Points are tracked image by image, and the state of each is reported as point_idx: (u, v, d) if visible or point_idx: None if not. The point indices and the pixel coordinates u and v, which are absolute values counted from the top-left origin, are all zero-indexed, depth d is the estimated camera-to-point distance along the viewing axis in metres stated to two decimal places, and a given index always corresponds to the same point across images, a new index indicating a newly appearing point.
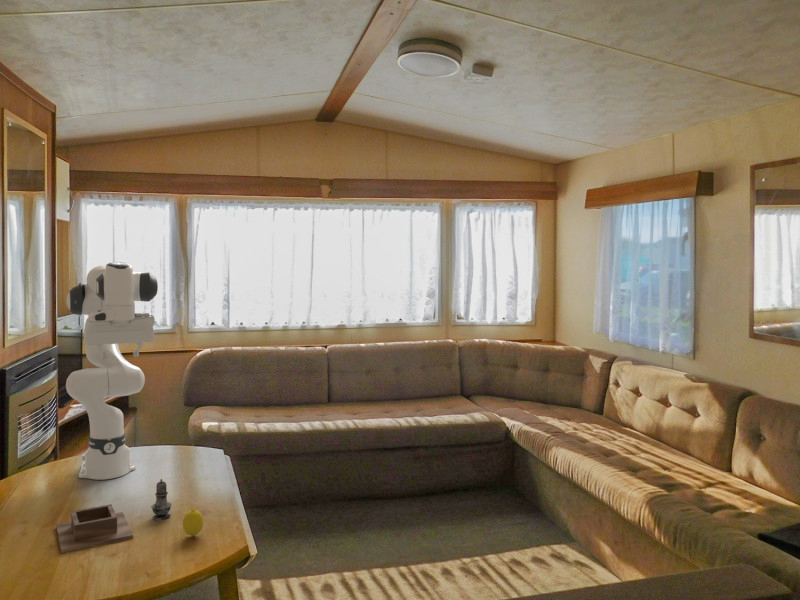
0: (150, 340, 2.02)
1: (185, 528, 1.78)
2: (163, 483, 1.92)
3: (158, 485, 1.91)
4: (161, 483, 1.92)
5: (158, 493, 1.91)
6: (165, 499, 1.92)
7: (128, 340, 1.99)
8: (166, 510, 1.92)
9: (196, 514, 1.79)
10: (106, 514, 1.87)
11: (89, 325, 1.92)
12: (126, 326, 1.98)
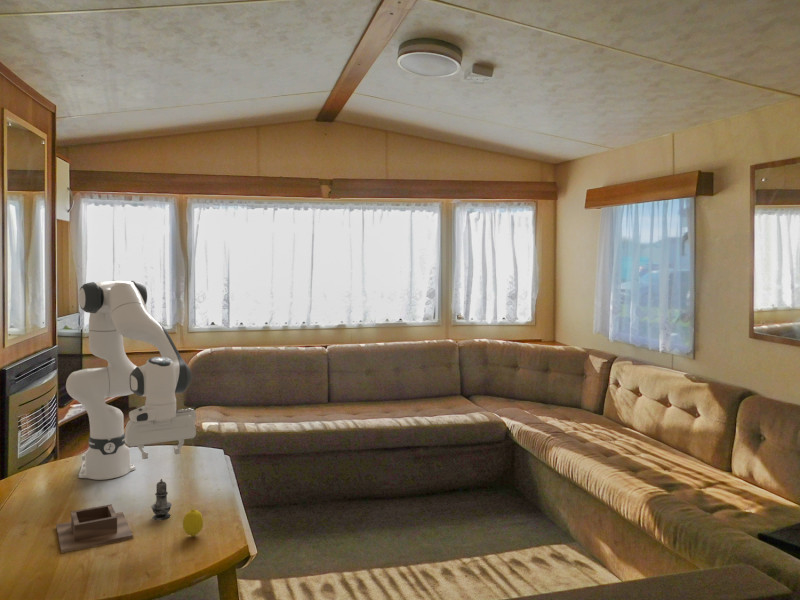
0: (192, 436, 1.95)
1: (185, 528, 1.78)
2: (163, 483, 1.92)
3: (158, 485, 1.91)
4: (161, 483, 1.92)
5: (158, 493, 1.91)
6: (165, 499, 1.92)
7: (170, 438, 1.91)
8: (166, 510, 1.92)
9: (196, 514, 1.79)
10: (106, 514, 1.87)
11: (131, 426, 1.84)
12: (168, 424, 1.91)
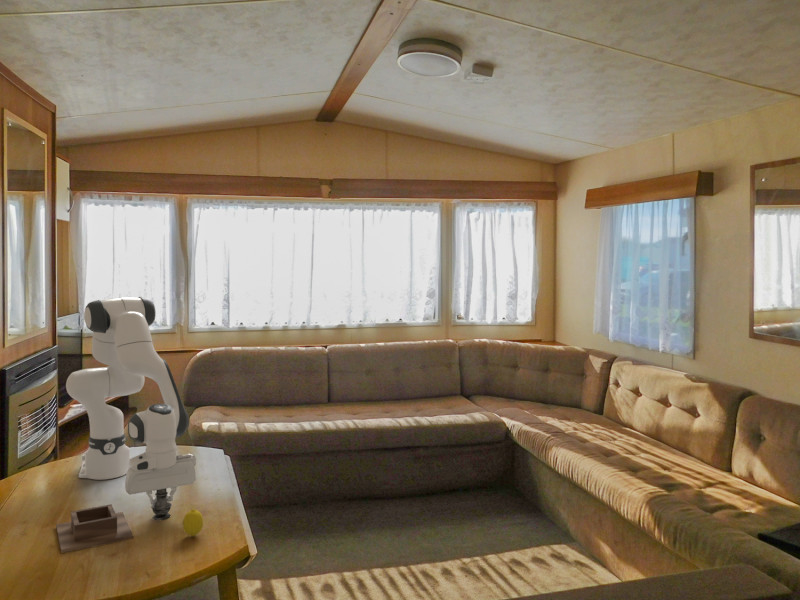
0: (192, 482, 1.96)
1: (185, 528, 1.78)
2: None
3: None
4: None
5: (158, 493, 1.91)
6: (165, 499, 1.92)
7: (170, 485, 1.92)
8: (166, 510, 1.92)
9: (196, 514, 1.79)
10: (106, 514, 1.87)
11: (131, 475, 1.85)
12: (168, 471, 1.92)
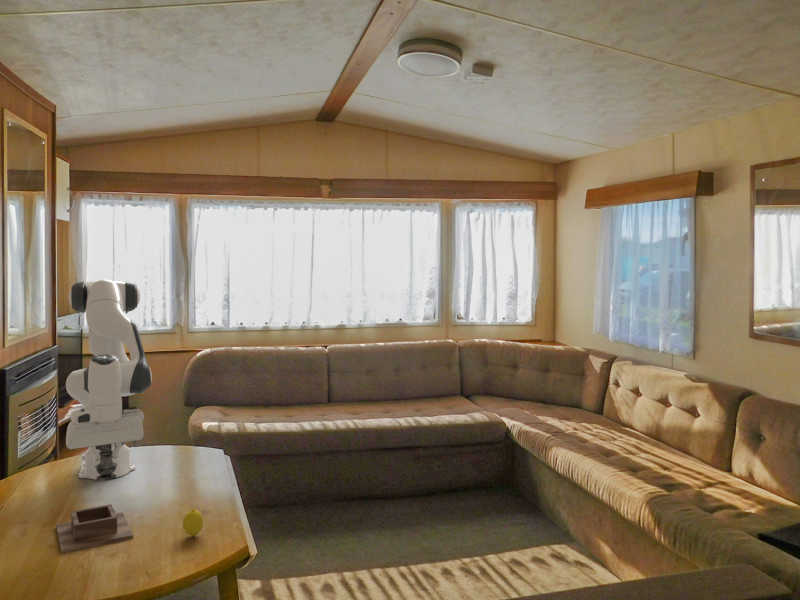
0: (139, 438, 1.85)
1: (185, 528, 1.78)
2: None
3: None
4: None
5: (102, 451, 1.80)
6: (110, 458, 1.81)
7: (115, 440, 1.81)
8: (111, 470, 1.81)
9: (196, 514, 1.79)
10: (106, 514, 1.87)
11: (71, 428, 1.74)
12: (113, 425, 1.81)
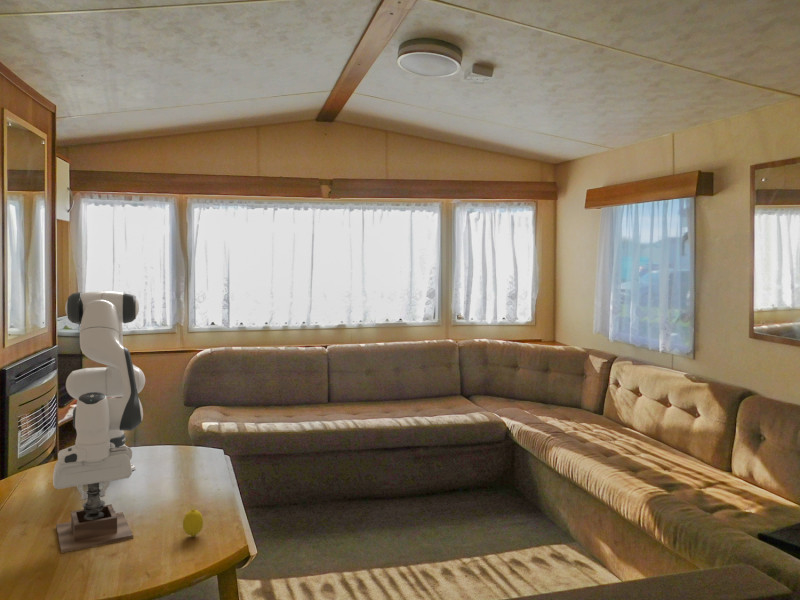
0: (127, 476, 1.84)
1: (185, 528, 1.78)
2: None
3: None
4: None
5: (89, 490, 1.79)
6: (97, 497, 1.80)
7: (102, 479, 1.80)
8: (98, 509, 1.79)
9: (196, 514, 1.79)
10: (106, 514, 1.87)
11: (58, 468, 1.73)
12: (101, 464, 1.80)
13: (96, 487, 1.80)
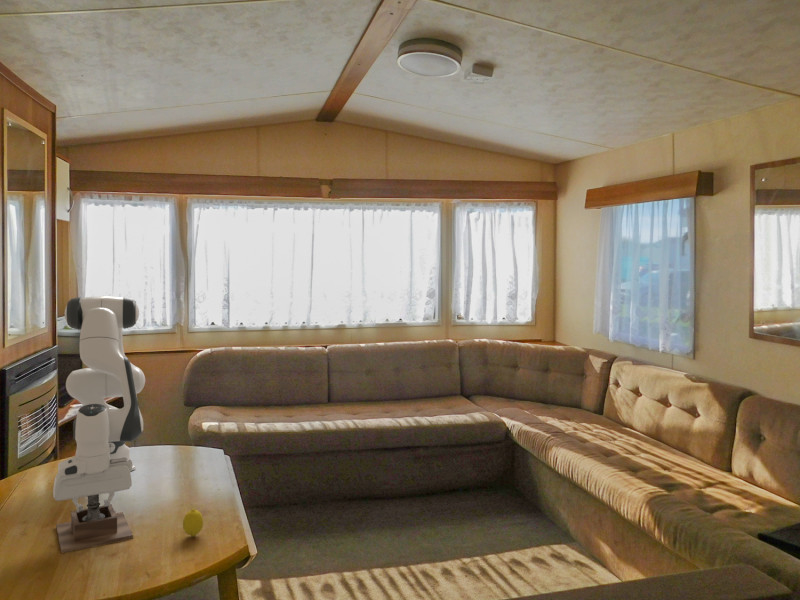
0: (127, 488, 1.84)
1: (185, 528, 1.78)
2: None
3: (89, 496, 1.80)
4: None
5: (89, 504, 1.80)
6: (97, 511, 1.81)
7: (102, 491, 1.80)
8: None
9: (196, 514, 1.79)
10: (106, 514, 1.87)
11: (58, 480, 1.73)
12: (101, 476, 1.80)
13: (96, 501, 1.80)
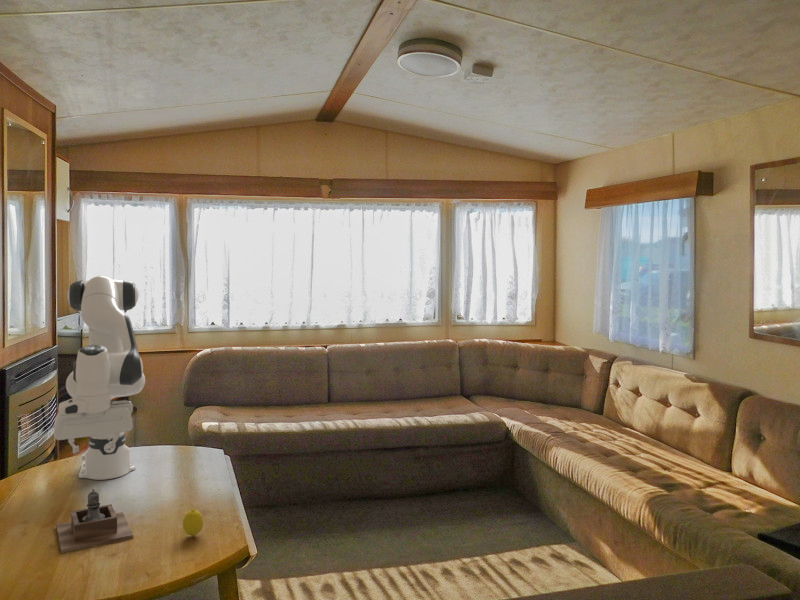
0: (128, 430, 1.83)
1: (185, 528, 1.78)
2: (95, 493, 1.80)
3: (89, 496, 1.80)
4: (93, 493, 1.80)
5: (89, 504, 1.80)
6: (97, 511, 1.81)
7: (103, 432, 1.80)
8: None
9: (196, 514, 1.79)
10: (106, 514, 1.87)
11: (59, 419, 1.73)
12: (101, 417, 1.79)
13: (96, 501, 1.80)
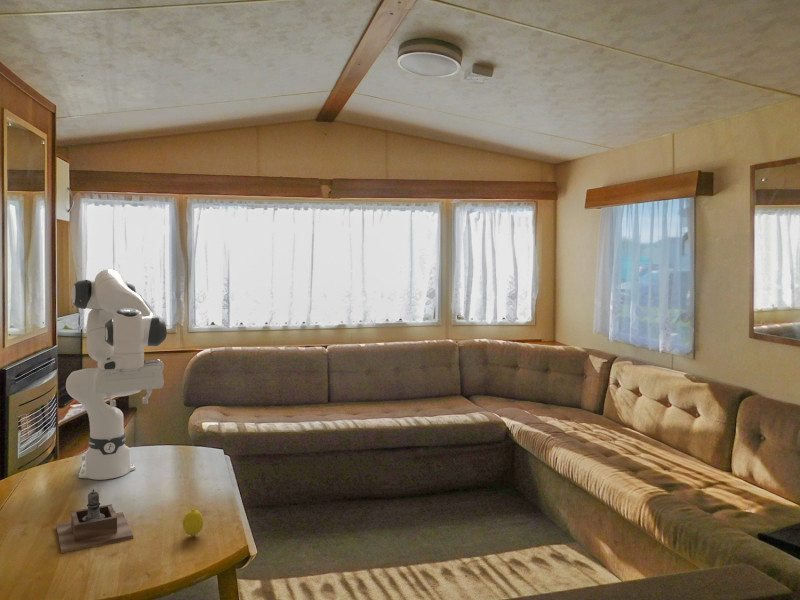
0: (159, 387, 2.00)
1: (185, 528, 1.78)
2: (95, 493, 1.80)
3: (89, 496, 1.80)
4: (93, 493, 1.80)
5: (89, 504, 1.80)
6: (97, 511, 1.81)
7: (137, 387, 1.96)
8: None
9: (196, 514, 1.79)
10: (106, 514, 1.87)
11: (98, 374, 1.90)
12: (136, 373, 1.96)
13: (96, 501, 1.80)
